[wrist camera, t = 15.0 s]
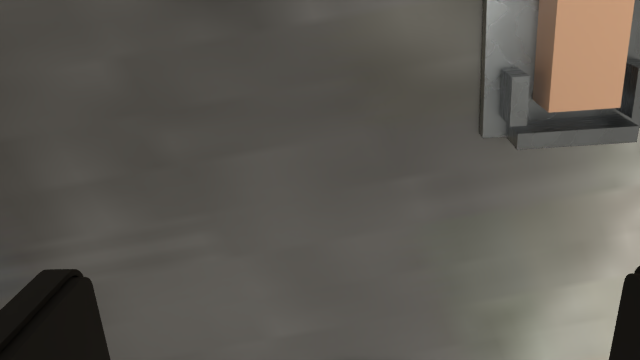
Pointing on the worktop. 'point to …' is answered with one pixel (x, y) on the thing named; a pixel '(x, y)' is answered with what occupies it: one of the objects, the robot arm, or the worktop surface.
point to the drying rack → (518, 80)
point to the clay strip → (581, 54)
